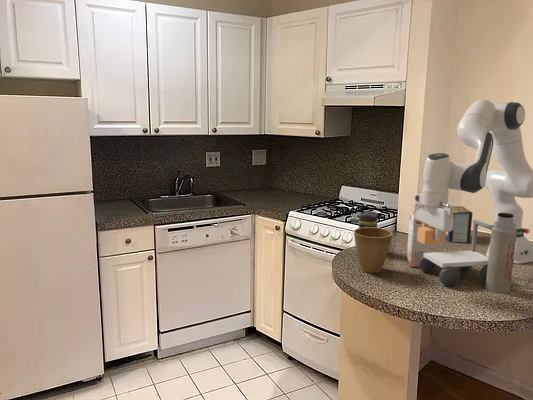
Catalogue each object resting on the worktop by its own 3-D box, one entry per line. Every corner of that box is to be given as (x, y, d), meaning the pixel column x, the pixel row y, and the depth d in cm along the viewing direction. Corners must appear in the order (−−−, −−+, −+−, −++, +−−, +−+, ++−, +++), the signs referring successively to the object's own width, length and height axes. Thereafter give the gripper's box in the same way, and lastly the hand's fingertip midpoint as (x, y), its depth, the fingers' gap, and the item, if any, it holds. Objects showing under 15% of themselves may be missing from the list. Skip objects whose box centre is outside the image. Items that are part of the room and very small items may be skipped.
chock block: (437, 239, 166) (438, 226, 165) (444, 243, 162) (446, 229, 161) (417, 240, 165) (418, 227, 164) (424, 244, 160) (425, 230, 159)
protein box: (460, 235, 239) (463, 206, 237) (470, 243, 224) (473, 212, 222) (440, 234, 241) (442, 205, 238) (448, 242, 226) (450, 211, 223)
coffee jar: (360, 247, 214) (362, 209, 211) (377, 250, 211) (379, 211, 207) (355, 253, 206) (357, 213, 202) (372, 255, 202) (374, 215, 199)
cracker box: (424, 268, 187) (428, 218, 183) (409, 267, 188) (413, 217, 184) (420, 258, 200) (424, 211, 196) (406, 257, 201) (409, 210, 197)
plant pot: (349, 263, 191) (351, 226, 188) (385, 264, 191) (387, 227, 188) (355, 276, 176) (357, 236, 174) (393, 277, 176) (396, 237, 173)
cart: (470, 268, 187) (475, 218, 184) (498, 282, 171) (504, 228, 167) (417, 271, 183) (421, 220, 179) (441, 287, 166) (446, 231, 162)
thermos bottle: (514, 291, 163) (524, 215, 158) (499, 294, 160) (507, 217, 155) (495, 283, 170) (504, 210, 165) (480, 286, 167) (488, 212, 162)
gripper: (460, 205, 151) (456, 245, 154) (427, 194, 171) (424, 230, 173) (443, 205, 150) (439, 246, 152) (411, 195, 169) (409, 230, 172)
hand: (431, 237), depth 163 cm, fingers closed on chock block, 5 cm apart
